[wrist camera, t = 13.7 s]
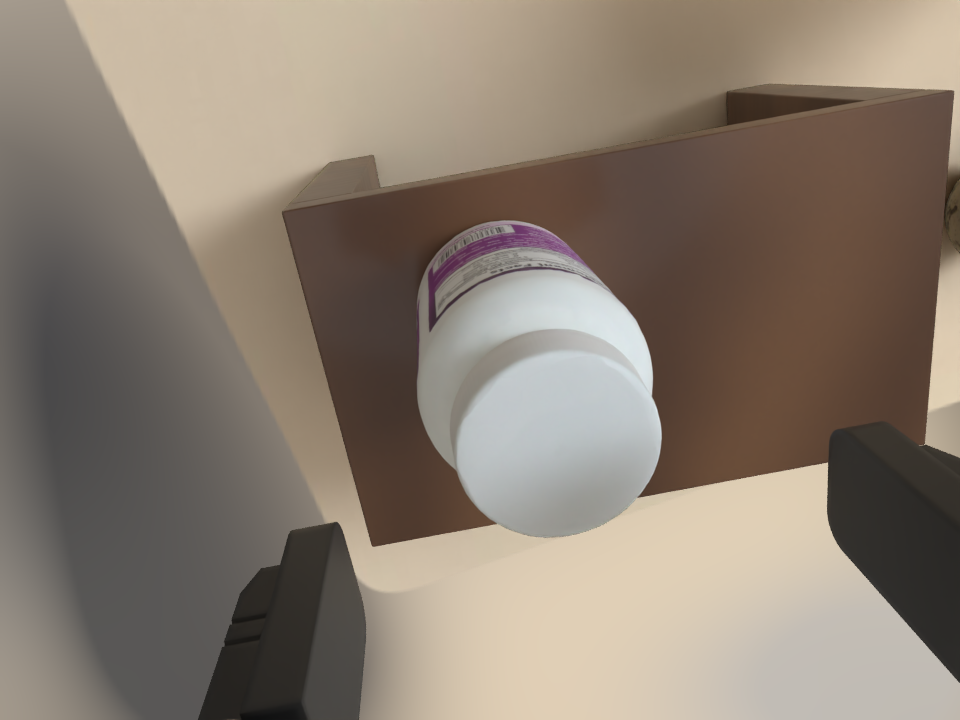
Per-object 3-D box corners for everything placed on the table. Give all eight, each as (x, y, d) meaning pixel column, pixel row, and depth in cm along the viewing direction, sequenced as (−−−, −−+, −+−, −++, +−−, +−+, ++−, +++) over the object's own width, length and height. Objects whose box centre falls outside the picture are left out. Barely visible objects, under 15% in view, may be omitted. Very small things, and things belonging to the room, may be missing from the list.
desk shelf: (386, 402, 36) (371, 547, 25) (328, 162, 32) (281, 211, 21) (772, 331, 37) (925, 445, 26) (770, 83, 32) (955, 89, 21)
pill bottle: (561, 393, 24) (648, 588, 15) (402, 364, 23) (392, 552, 14) (608, 234, 22) (741, 348, 13) (437, 196, 21) (451, 289, 12)
